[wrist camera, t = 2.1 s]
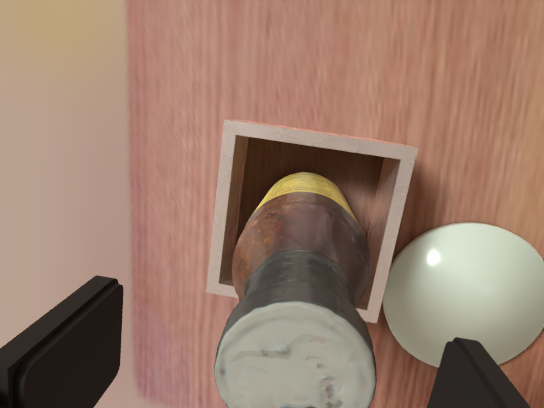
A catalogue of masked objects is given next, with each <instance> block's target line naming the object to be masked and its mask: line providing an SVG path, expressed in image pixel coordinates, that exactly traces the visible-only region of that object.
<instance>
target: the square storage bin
mask: <svg viewBox="0 0 544 408" xmlns="http://www.w3.org/2000/svg"><path fill="white" fill-rule="evenodd" d="M249 137H254V138H261V139H268V140H274V141H281V142H288V143H294V144H301V145H308V146H314V147H321V148H328V149H334V150H341V151H348V152H354V153H361V154H368V155H374V156H381V157H384V159H383V164H382V168H381V173H380V178H379V183H378V187H377V192H376V197H375V201H374V206H373V211H372V215H371V220H370V225H369V229H368V234H367V239H366V240H367V243H368V245H369V249H370V254H371V263H372V269H371V278H370V281H369V285H368V287H367V290H366V292H365V294H364V296H363V297H362V299H361V300H360V301H359V303H358V305H357V306H356V310H357V311H358V312H359V314H360V316H361V317H362V319H363V320H364V321H366V322H372V323H377V321H378V316H379V312H380V308H381V304H382V299H383V295H384V291H385V287H386V282H387V278H388V274H389V269H390V265H391V261H392V257H393V252H394V248H395V244H396V240H397V235H398V231H399V227H400V222H401V218H402V214H403V210H404V205H405V201H406V197H407V193H408V188H409V184H410V180H411V175H412V171H413V167H414V163H415V158H416V154H417V150H418V148H416V147H413V146H409V145H405V144H402V143H398V142H391V141H385V140H378V139H371V138H364V137H357V136H350V135H344V134H337V133H330V132H323V131H316V130H310V129H303V128H296V127H289V126H282V125H275V124H269V123H262V122H255V121H248V120H241V119H227V120H224V127H223V137H222V146H221V156H220V165H219V174H218V184H217V193H216V203H215V212H214V222H213V231H212V240H211V250H210V259H209V269H208V278H207V288H206V292H207V293H213V294H218V295H224V296H229V297H235V298H239V297H238V295H237V294H236V292H235V288H234V283H233V279H232V276H233V275H232V263H233V261H232V257H233V254H234V251H235V245H236V236H237V228H238V220H239V212H240V204H241V196H242V188H243V180H244V171H245V163H246V155H247V147H248V139H249Z"/></svg>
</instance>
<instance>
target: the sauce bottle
mask: <svg viewBox="0 0 544 408" xmlns="http://www.w3.org/2000/svg"><path fill="white" fill-rule="evenodd" d="M232 261H233V263H232V275H233V276H232V279H233V283H234V288H235V292H236V294H237V295H238V297H239V301H240V302H239V303H238V304H237V306H236V307H235V308H234V309H233V311H232V313H231V315H230V317H229V318H228V320H227V323H226V326H225V328H224V330H223V333H222V336H221V339H220V342H219V345H218V348H217V353H216V359H215V365H214V373H215V382H216V385H217V389H218V391H219V394H220V397H221V398H222V400H223V401H224V402H225V403H226V405H227V407H228V408H369V406H370V404H371V402H372V400H373V398H374V394H375V389H376V381H377V378H376V363H375V356H374V352H373V345H372V341H371V338H370V335H369V332H368V328H367V325H366V323H365V321H364V320H363V319H362V317H361V316H360V314H359V312H358V311H357V310H356V306H357V305H358V303H359V301H360V300H361V299H362V297H363V296H364V294H365V292H366V290H367V287H368V285H369V281H370V278H371V269H372V263H371V254H370V249H369V245H368V243H367V240H366V237H365V235H364V233H363V231H362V229H361V227H360V225H359V223H358V222H357V220H356V218H355V216H354V214H353V212H352V211H351V208H350V207H349V205H348V203H347V201H346V199H345V198H344V196H343V194H342V192H341V191H340V190H339V188H338V187H337V186H336V185H335V184H334V183H333V182H331V181H330V180H328V179H327V178H325V177H323V176H321V175H318V174H315V173H309V172H300V173H295V174H291V175H289V176H286V177H283V178H282V179H281V180H279V181H278V182H277V183H276V184H274V185H273V187H272V188H271V189H270V190H269V191H268V193H267V194H266V196H265V197H264V199H263V200H262V201H261V203H260V204H259V206H258V207H257V208H256V210H255V211H254V213H253V214H252V216H251V217H250V218H249V220H248V222H247V224H246V226H245V228H244V231H243V232H242V234H241V235H240V237H239V239H238V241H237V244H236V247H235V251H234V254H233V257H232Z"/></svg>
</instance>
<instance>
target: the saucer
mask: <svg viewBox="0 0 544 408" xmlns="http://www.w3.org/2000/svg"><path fill="white" fill-rule="evenodd" d="M382 304H383V311H384V314H385V318H386V320H387V323H388V326H389V328H390V330H391V332H392V334H393V335H394V337H395V338H396V340H397V341H398V342H399V344H400V345H401V346H402V347H403V348H404V349H405V350H406V351H407V352H409V353H410V354H411V355H413V356H414V357H415V358H417V359H419V360H420V361H422V362H424V363H426V364H429V365H432V366H434V367H437V368H439V365H440V362H441V358H442V355H443V352H444V348H445V345H446V343H447V342H448V341H451V342H452V340H453V339H454V338H456V337H459V338H464V339H470V340H476V341H479V342H480V343H481V344H482V345H483V347H484V348H485V349H486V351H487V352H488V353H489V355H490V356H491V357H492V358H493V360H494V361H495V362H496V364H497V365H499V364H502V363H504V362H506V361H508V360H510V359H512V358H513V357H515V356H517V355H518V354H520V353H521V352H522V351H524V350H525V349H526V348H527V347H528V346H529V345H530V344H531V343H532V342H533V341H534V340H535V339H536V338H537V336H538V335H539V334H540V332H541V331H542V329H543V328H544V261H543V259H542V258H541V256H540V255H539V254H538V252H537V251H536V250H535V249H534V248H533V247H532V246H531V245H530V244H529V243H527V242H526V241H524V240H523V239H522V238H520V237H519V236H517V235H515V234H513V233H511V232H510V231H508V230H506V229H504V228H501V227H498V226H495V225H491V224H487V223H482V222H456V223H450V224H446V225H442V226H439V227H436V228H433V229H431V230H428V231H427V232H425V233H423V234H421V235H419V236H418V237H416V238H415V239H414V240H412V241H411V242H410V243H408V244H407V245H406V246H405V247H404V248H403V249H402V250H401V251H400V252H399V254H398V255H397V256H396V257H395V259H394V260H393V262H392V263H391V265H390V269H389V274H388V278H387V282H386V287H385V291H384V295H383V299H382Z"/></svg>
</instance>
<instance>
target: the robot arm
mask: <svg viewBox="0 0 544 408" xmlns="http://www.w3.org/2000/svg"><path fill="white" fill-rule="evenodd" d="M122 306H123V286H122V285H120V284H118V280H117V279H114V278H108V277H102V276H95V277H93V278H92V279H91V280H90V281H88V282H87V283H86V284H84V285H83V286H81V287H80V288H79V289H78V290H76V291H75V292H74V293H72V294H71V295H70V296H68V297H67V298H66V299H65V300H63V301H62V302H61V303H59V304H58V305H57V306H55V307H54V308H53V309H51V310H50V311H49V312H48V313H46V314H45V315H44V316H42V317H41V318H40V319H39V320H37V321H36V322H34V323H33V324H32V325H30V326H29V327H28V328H27V329H25V330H24V331H23V332H21V333H20V334H19V335H17V336H16V337H15V338H13V339H12V340H11V341H10V342H8V343H7V344H6V345H4V346H3V347H2V348H0V408H93V407H94V406H95V405H96V403H97V402H98V400H99V399H100V398H101V396H102V395H103V394H104V392H105V391H106V390H107V388H108V387H109V385H110V384H111V383H112V381H113V380H114V378H115V377H116V375H117V373H118V370H119V366H120V353H121V331H122V330H121V329H122V308H123V307H122ZM427 408H530V406H529V405H528V404H527V402H526V401H525V400H524V399H523V397H522V396H521V395H520V393H519V392H518V391H517V389H516V388H515V387H514V386H513V384H512V383H511V382H510V380H509V379H508V378H507V377H506V375H505V374H504V373H503V371H502V370H501V369H500V367H499V366H498V365H497V364H496V362H495V361H494V360H493V358H492V357H491V356H490V355H489V353H488V352H487V351H486V349H485V348H484V347H483V345H482V344H481V343H480V342H479V341H476V340H470V339H464V338H459V337H456V338H454V339H453V340H452V342H451V341H448V342H447V343H446V345H445V348H444V352H443V355H442V358H441V362H440V365H439V369H438V372H437V376H436V379H435V382H434V386H433V389H432V393H431V396H430V400H429V403H428V406H427Z"/></svg>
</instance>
